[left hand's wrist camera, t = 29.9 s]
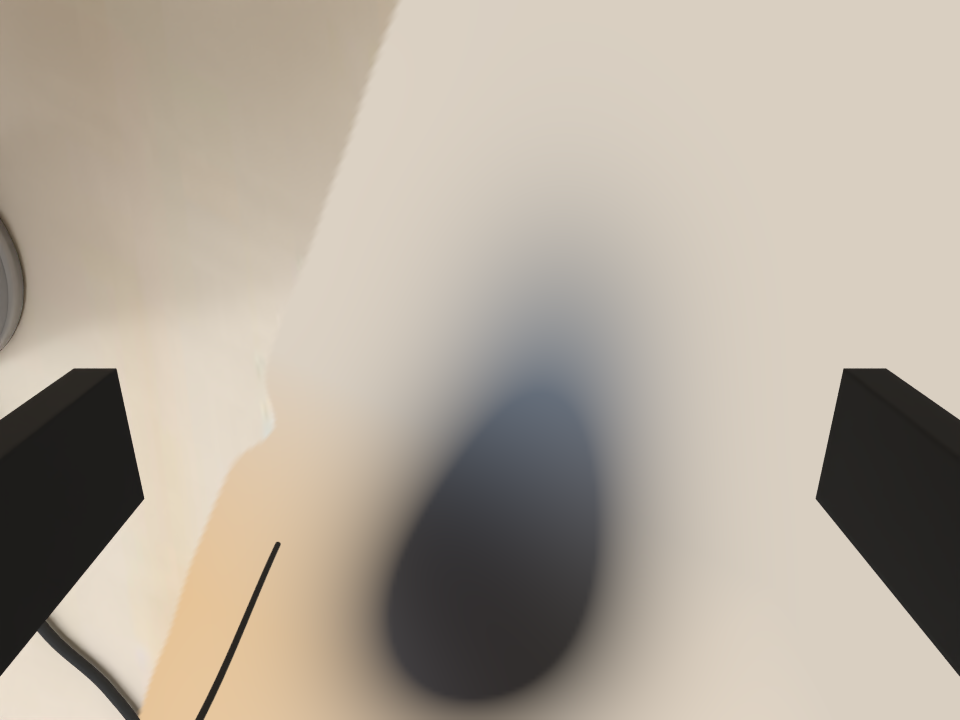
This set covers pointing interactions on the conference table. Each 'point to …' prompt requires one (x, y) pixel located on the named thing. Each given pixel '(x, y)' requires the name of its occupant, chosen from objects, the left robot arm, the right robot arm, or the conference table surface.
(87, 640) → the conference table surface
